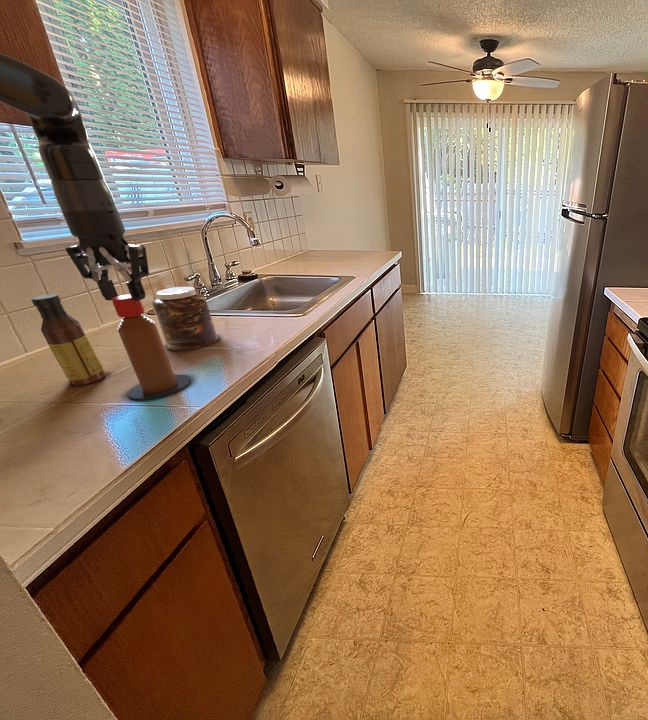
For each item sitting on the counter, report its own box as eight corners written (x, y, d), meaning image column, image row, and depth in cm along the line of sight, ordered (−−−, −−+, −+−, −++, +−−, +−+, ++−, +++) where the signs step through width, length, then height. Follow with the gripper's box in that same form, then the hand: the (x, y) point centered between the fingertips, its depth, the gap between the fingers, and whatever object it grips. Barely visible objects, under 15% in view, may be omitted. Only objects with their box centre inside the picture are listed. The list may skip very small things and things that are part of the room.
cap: (113, 317, 78) (105, 299, 76) (131, 311, 82) (124, 294, 80) (132, 317, 78) (125, 299, 76) (149, 311, 81) (143, 294, 80)
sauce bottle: (102, 371, 95) (64, 290, 87) (110, 378, 92) (72, 294, 83) (65, 382, 90) (22, 297, 82) (72, 390, 87) (28, 301, 78)
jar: (217, 332, 119) (201, 282, 112) (218, 344, 110) (202, 291, 103) (168, 341, 113) (149, 289, 107) (166, 354, 104) (145, 298, 98)
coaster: (115, 400, 82) (113, 398, 82) (157, 376, 92) (156, 374, 92) (165, 401, 82) (164, 399, 81) (202, 377, 92) (201, 375, 91)
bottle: (135, 392, 84) (97, 303, 76) (158, 379, 89) (124, 295, 81) (162, 393, 84) (127, 303, 75) (183, 380, 89) (152, 295, 81)
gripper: (29, 209, 69) (73, 305, 76) (108, 208, 68) (144, 305, 75) (72, 206, 75) (109, 294, 82) (144, 205, 74) (175, 294, 82)
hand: (125, 299), depth 79 cm, fingers open, 5 cm apart
